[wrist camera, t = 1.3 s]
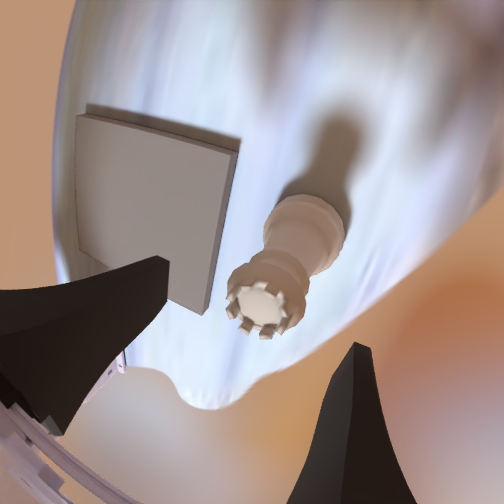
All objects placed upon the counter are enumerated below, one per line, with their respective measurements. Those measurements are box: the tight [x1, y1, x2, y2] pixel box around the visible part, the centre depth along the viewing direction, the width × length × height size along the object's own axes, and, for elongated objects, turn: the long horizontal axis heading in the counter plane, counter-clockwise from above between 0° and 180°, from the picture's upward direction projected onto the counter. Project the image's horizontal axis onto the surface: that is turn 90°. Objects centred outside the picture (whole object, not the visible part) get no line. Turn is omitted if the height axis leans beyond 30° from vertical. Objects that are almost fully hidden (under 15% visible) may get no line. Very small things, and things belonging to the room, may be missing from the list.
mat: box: [75, 114, 238, 316], centre depth 22 cm, size 12×13×1 cm
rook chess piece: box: [225, 194, 345, 339], centre depth 15 cm, size 4×4×8 cm
